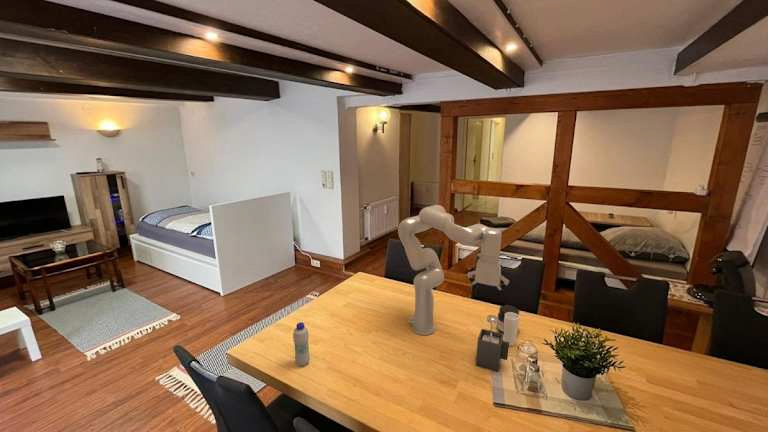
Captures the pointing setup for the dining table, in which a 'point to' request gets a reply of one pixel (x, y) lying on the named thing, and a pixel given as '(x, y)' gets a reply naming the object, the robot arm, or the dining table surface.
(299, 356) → the bottle
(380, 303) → the dining table surface
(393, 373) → the dining table surface
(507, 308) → the supplement container
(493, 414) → the dining table surface
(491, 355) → the block
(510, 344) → the drinking glass
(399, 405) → the dining table surface
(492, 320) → the plunger
